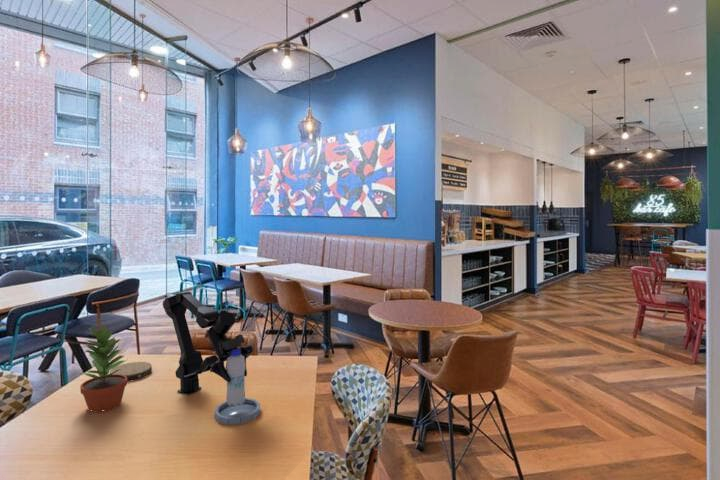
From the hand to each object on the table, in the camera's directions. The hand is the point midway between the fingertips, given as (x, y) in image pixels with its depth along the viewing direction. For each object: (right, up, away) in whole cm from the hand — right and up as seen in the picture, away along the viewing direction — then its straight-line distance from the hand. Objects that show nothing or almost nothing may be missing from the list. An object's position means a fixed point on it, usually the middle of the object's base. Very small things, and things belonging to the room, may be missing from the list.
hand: (238, 378), depth 138 cm
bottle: (-1, -10, +1) cm, 10 cm away
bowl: (-1, -13, +2) cm, 13 cm away
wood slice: (-58, -11, +36) cm, 70 cm away
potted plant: (-51, -13, +8) cm, 53 cm away
